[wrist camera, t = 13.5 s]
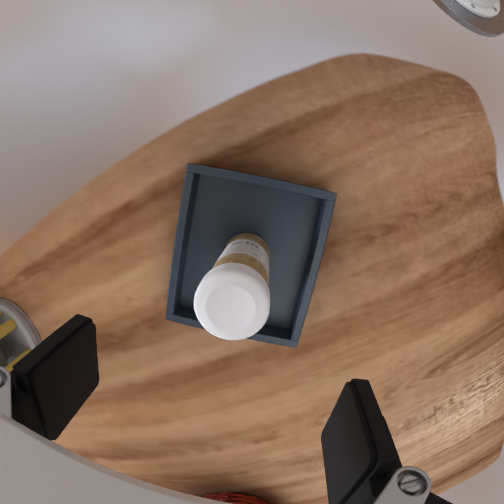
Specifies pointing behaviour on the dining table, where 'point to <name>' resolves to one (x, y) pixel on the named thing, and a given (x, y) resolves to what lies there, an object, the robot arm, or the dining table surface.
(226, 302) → the sprinkles bottle
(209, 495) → the vase
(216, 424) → the dining table surface
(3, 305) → the lantern
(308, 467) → the dining table surface
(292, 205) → the tray
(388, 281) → the dining table surface
